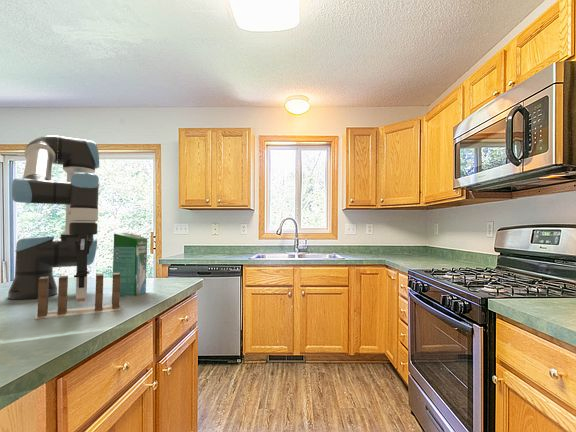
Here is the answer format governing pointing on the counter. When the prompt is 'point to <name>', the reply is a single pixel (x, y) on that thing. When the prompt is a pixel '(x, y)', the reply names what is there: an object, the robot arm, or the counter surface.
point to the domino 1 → (43, 296)
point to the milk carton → (130, 262)
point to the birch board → (78, 311)
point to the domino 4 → (116, 291)
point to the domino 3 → (99, 292)
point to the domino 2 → (62, 295)
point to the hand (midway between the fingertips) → (81, 296)
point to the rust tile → (81, 300)
